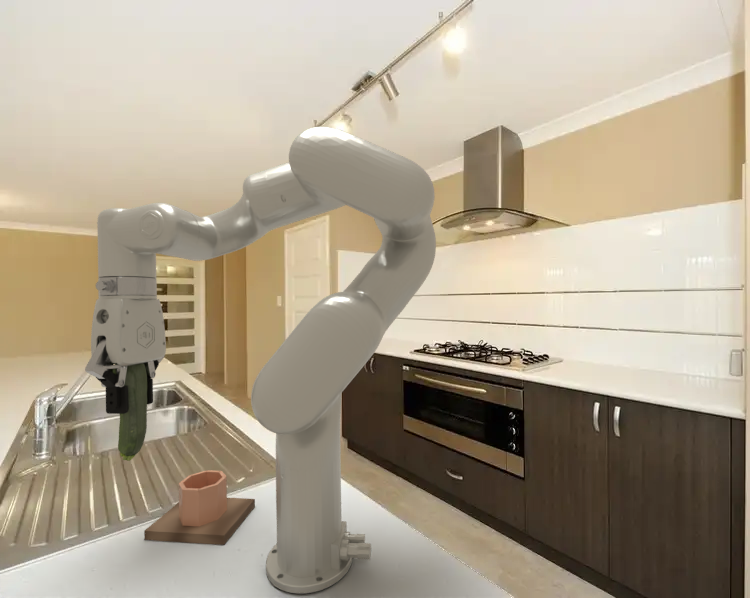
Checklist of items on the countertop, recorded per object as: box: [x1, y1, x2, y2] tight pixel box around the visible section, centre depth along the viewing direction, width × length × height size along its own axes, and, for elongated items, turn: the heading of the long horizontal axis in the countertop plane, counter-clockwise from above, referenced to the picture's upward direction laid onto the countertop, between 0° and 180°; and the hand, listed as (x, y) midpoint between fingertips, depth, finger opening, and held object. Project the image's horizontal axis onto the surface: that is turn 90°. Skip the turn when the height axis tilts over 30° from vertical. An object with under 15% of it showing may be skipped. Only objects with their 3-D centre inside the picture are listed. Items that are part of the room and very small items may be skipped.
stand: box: [143, 497, 256, 546], centre depth 65 cm, size 14×11×2 cm
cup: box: [178, 469, 228, 526], centre depth 65 cm, size 7×7×6 cm
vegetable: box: [113, 363, 148, 462], centre depth 56 cm, size 4×4×20 cm
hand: (130, 406), depth 56 cm, fingers closed on vegetable, 4 cm apart
